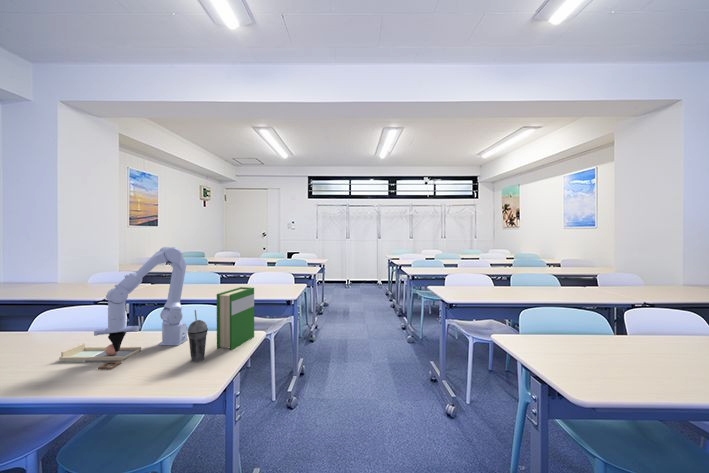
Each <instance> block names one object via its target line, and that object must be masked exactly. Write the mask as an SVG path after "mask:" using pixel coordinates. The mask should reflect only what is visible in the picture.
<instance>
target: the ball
mask: <svg viewBox="0 0 709 473" xmlns="http://www.w3.org/2000/svg"><path fill="white" fill-rule="evenodd" d="M105 347H106V349H105V353H106V354H107V355H110V356H112V355H115V354H117V353H118V352H115V349H114V346H113V344H112V343H111V344H108V345H107V346H105Z"/></svg>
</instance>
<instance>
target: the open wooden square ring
mask: <svg viewBox="0 0 709 473" xmlns="http://www.w3.org/2000/svg"><path fill="white" fill-rule="evenodd" d="M122 363H123V361H121V362H104V363H103V364H101V365H99V366H97V370H113V369H115V368H116V367H118V366H120V365H122ZM109 365H110V366H109Z"/></svg>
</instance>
